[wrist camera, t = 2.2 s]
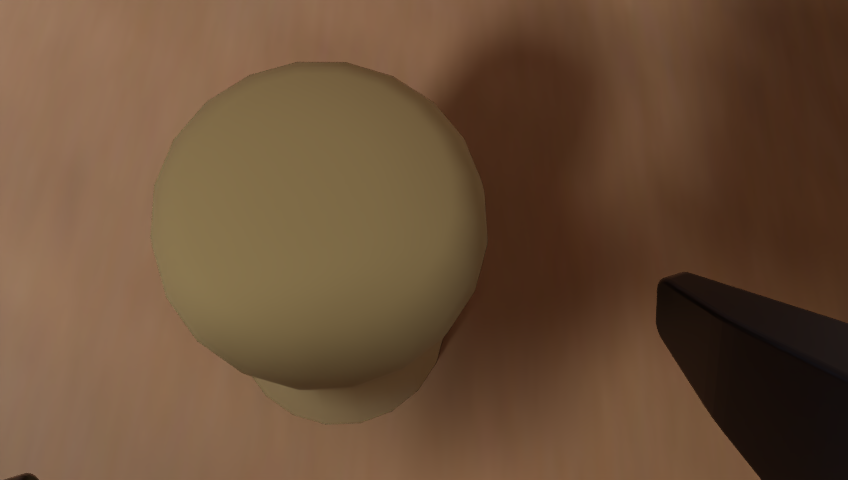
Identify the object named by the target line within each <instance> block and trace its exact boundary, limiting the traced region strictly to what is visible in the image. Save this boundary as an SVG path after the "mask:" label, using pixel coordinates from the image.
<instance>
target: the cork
mask: <svg viewBox="0 0 848 480" xmlns="http://www.w3.org/2000/svg"><path fill="white" fill-rule="evenodd" d="M151 242H152V248H153V252H154V255H155V259H156V262H157V266H158V270H159V273H160V277H161V280H162V284H163V287H164V291H165V295H166V298H167V299H168V301H169V302H170V304H171V305H172V306H173V308H174V309H175V311H176V312H177V313H178V315H179V316H180V318H181V319H182V320H183V322H184V323H185V325H186V326H187V327H188V329H189V330H190V332H191V333H192V334H193V336H194V337H195V339H196V340H197V341H198V342H199V343H201V344H202V345H203V346H205V347H206V348H208V349H209V350H210V351H212V352H213V353H215V354H216V355H218V356H219V357H220V358H222V359H223V360H225V361H226V362H227V363H229V364H230V365H232V366H233V367H235V368H236V369H237V370H239V371H240V372H242V373H244V374H247V375H249V376H252V377H253V378H254V380H255V381H256V383H257V384H258V385H259V387H260V388H261V389H262V391H263V392H264V394H265V395H266V396H267V397H269V398H270V399H271V400H273V401H274V402H276V403H277V404H279V405H280V406H281V407H283V408H284V409H286V410H287V411H288V412H290V413H291V414H293V415H295V416H299V417H302V418H306V419H309V420H312V421H316V422H319V423H323V424H350V423H362V422H364V421H367V420H370V419H372V418H375V417H378V416H380V415H383V414H385V413H388V412H391V411H393V410H394V409H395V408H396V407H398V406H399V405H400V404H401V403H403V402H404V401H405V400H406V399H408V398H409V397H410V396H411V395H413V394H414V393H415V392H416V391H418V390H419V388H420V386H421V385H422V383H423V382H424V380H425V379H426V377H427V376H428V374H429V373H430V371H431V370H432V368H433V367H434V365H435V364H436V362H437V358H438V354H439V351H440V347H441V343H442V340H443V337H444V336H445V335H446V334H447V333H448V331H449V329H450V328H451V326H452V325H453V323H454V322H455V320H456V319H457V317H458V316H459V314H460V313H461V311H462V310H463V308H464V307H465V305H466V304H467V302H468V301H469V299H470V298H471V296H472V295H473V293H474V291H475V289H476V285H477V281H478V278H479V274H480V270H481V266H482V262H483V259H484V255H485V251H486V247H487V243H488V237H487V223H486V208H485V193H484V189H483V184H482V181H481V178H480V176H479V174H478V171H477V169H476V166H475V164H474V161H473V159H472V157H471V154H470V152H469V149H468V147H467V144H466V142H465V139H464V138H463V137H462V136H461V134H460V133H459V132H458V131H457V130H456V128H455V127H454V126H453V125H452V124H451V123H450V121H449V120H448V119H447V118H446V117H445V115H444V114H443V113H442V112H441V111H440V109H439V108H438V107H437V106H436V105H435V104H434V102H432V101H431V100H429V99H428V98H426V97H424V96H423V95H421V94H420V93H418V92H417V91H415V90H414V89H412V88H411V87H409V86H407V85H406V84H404V83H403V82H401V81H400V80H398V79H397V78H395V77H394V76H391V75H387V74H384V73H380V72H377V71H374V70H370V69H367V68H364V67H360V66H357V65H353V64H350V63H347V62H295V63H292V64H288V65H284V66H281V67H277V68H274V69H270V70H266V71H263V72H259V73H256V74H252V75H249V76H247V77H246V78H244V79H242V80H241V81H239V82H238V83H236V84H234V85H233V86H231V87H229V88H228V89H226V90H225V91H223V92H221V93H220V94H218V95H217V96H215V97H213V98H212V99H210V100H209V101H207V102H206V103H205V104H204V105H203V106H202V108H201V109H200V110H199V111H198V112H197V113H196V114H195V116H194V117H193V118H192V119H191V120H190V121H189V122H188V124H187V125H186V126H185V127H184V128H183V129H182V130H181V132H180V133H179V134H178V135H177V136H176V137H175V139H174V140H173V142H172V145H171V147H170V149H169V152H168V154H167V156H166V159H165V161H164V163H163V166H162V168H161V170H160V173H159V175H158V178H157V180H156V182H155V185H154V193H153V208H152V222H151Z"/></svg>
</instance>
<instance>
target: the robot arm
mask: <svg viewBox="0 0 848 480" xmlns="http://www.w3.org/2000/svg"><path fill="white" fill-rule="evenodd" d="M656 325H657V329H658V332H659V335H660V337H661V338H662V340H663V342H664V343H665V345H666V346H667V348H668V350H669V351H670V353H671V354H672V356H673V357H674V359H675V361H676V362H677V364H678V365H679V367H680V368H681V370H682V372H683V373H684V375H685V376H686V378H687V379H688V381H689V383H690V384H691V386H692V387H693V389H694V390H695V392H696V394H697V395H698V397H699V398H700V400H701V401H702V403H703V405H704V406H705V408H706V409H707V411H708V412H709V413H710V415H711V416H712V418H713V419H714V420H715V422H716V423H717V424H718V426H719V427H720V428H721V430H722V431H723V432H724V433H725V435H726V436H727V437H728V439H729V440H730V441H731V442H732V444H733V445H734V446H735V447H736V449H737V450H738V451H739V452H740V454H741V455H742V456H743V457H744V459H745V460H746V461H747V462H748V464H749V465H750V466H751V467H752V469H753V470H754V471H755V472H756V474H757V475H758V476H759V477H760V479H761V480H848V323H845V322H842V321H839V320H836V319H833V318H830V317H826V316H823V315H820V314H817V313H814V312H811V311H808V310H804V309H801V308H798V307H795V306H792V305H789V304H786V303H783V302H779V301H776V300H773V299H770V298H767V297H764V296H761V295H757V294H754V293H751V292H748V291H745V290H742V289H739V288H735V287H732V286H729V285H726V284H723V283H720V282H717V281H714V280H710V279H707V278H704V277H701V276H698V275H695V274H692V273H688V272H682V273H678V274H675V275H671V276H668V277H665V278H663V279H661V280H660V281H659V283H658V287H657V306H656ZM5 480H39V479H38V478H37V477H36V476H35V475H33V474H31V473H24V474H21V475H18V476H14V477H11V478H8V479H5Z"/></svg>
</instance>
